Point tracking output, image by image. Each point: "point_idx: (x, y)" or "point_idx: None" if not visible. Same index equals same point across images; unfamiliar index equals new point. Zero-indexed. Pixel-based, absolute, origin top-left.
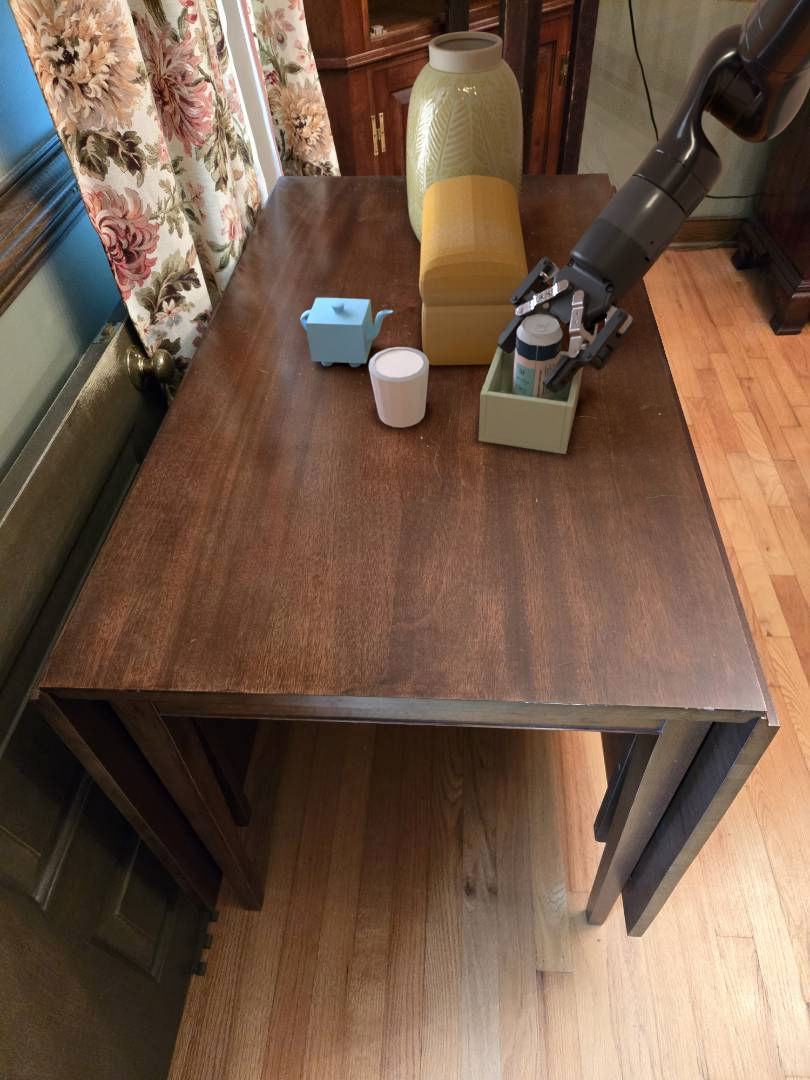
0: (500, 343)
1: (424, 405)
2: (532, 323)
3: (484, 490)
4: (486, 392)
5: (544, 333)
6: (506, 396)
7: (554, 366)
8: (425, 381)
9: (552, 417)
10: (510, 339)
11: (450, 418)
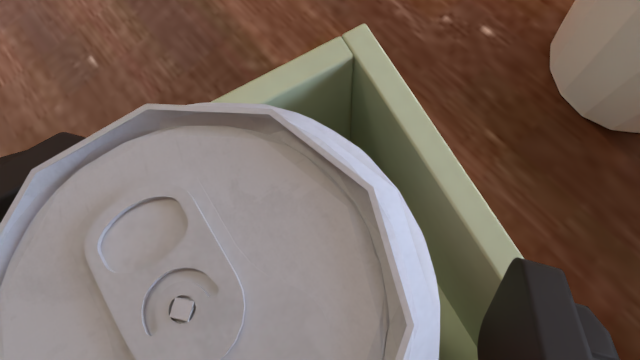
0: (535, 265)
1: (577, 70)
2: (282, 281)
3: (216, 3)
4: (352, 44)
5: (59, 205)
6: (265, 76)
7: (16, 185)
8: (628, 5)
9: None
10: (513, 331)
11: (498, 144)
